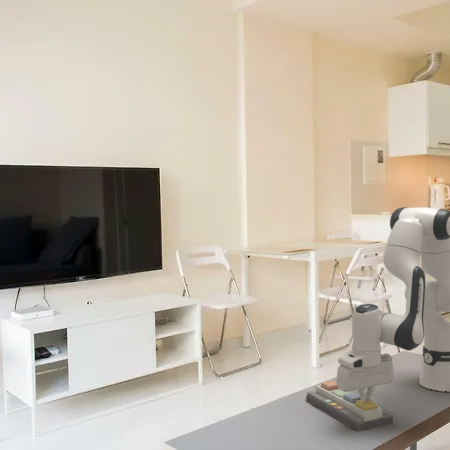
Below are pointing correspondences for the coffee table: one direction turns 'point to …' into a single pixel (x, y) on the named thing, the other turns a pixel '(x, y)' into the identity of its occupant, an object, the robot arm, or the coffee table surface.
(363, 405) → the key ochre
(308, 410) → the coffee table surface
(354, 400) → the key slate
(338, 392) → the key sage
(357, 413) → the coloured button panel
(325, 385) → the key terracotta
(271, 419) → the coffee table surface
